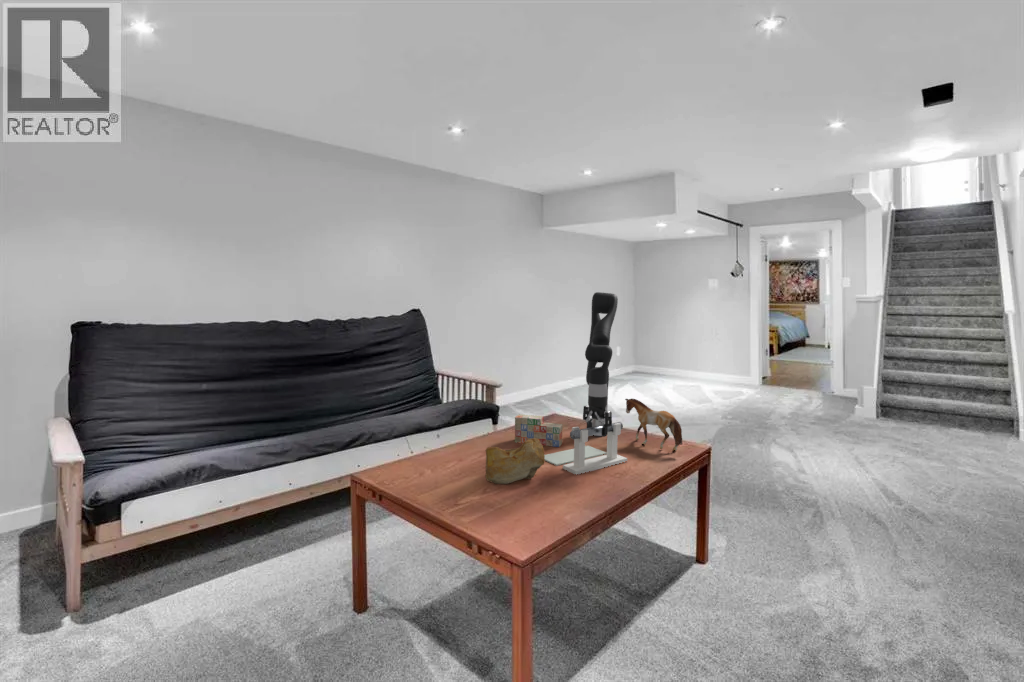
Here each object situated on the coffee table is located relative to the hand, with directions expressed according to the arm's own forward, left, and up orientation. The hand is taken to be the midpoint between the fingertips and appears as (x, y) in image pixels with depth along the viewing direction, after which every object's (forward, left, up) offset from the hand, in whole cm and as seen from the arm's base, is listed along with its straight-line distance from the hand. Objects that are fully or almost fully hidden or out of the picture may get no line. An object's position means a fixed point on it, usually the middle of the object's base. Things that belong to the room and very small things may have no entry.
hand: (596, 433), depth 209 cm
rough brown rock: (-8, -36, -13) cm, 39 cm away
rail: (0, 0, 0) cm, 0 cm away
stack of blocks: (-37, -1, -14) cm, 39 cm away
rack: (0, 0, -13) cm, 13 cm away
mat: (-14, 0, -13) cm, 19 cm away
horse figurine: (-3, +37, -13) cm, 39 cm away
